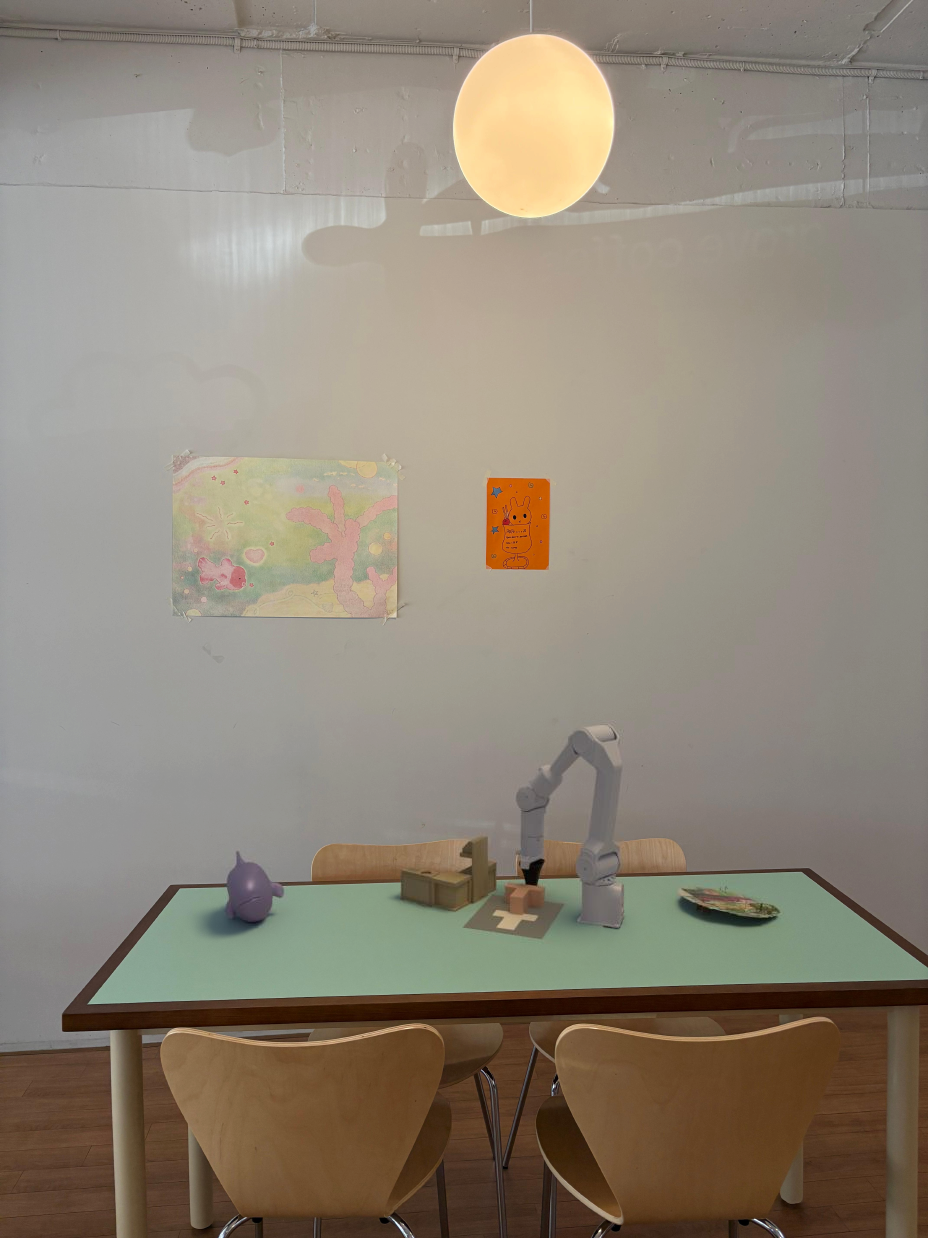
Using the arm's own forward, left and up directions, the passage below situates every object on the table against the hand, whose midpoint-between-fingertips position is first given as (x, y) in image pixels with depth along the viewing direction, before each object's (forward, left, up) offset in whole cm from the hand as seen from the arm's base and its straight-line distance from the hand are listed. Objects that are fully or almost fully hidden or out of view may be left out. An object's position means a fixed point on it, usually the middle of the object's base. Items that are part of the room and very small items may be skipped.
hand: (531, 889), depth 204 cm
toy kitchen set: (+19, +7, -2) cm, 20 cm away
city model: (-46, -8, -2) cm, 47 cm away
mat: (0, +15, -2) cm, 15 cm away
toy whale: (+56, +34, -2) cm, 66 cm away
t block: (0, +10, -1) cm, 10 cm away
